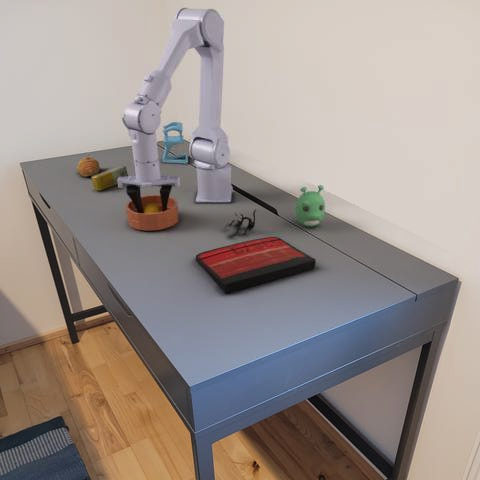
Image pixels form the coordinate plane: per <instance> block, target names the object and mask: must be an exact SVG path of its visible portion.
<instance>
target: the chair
mask: <svg viewBox="0 0 480 480" xmlns="http://www.w3.org/2000/svg"><path fill="white" fill-rule="evenodd" d="M162 128H163V129H162V132H163V135H164V136H163V145H164V146H165V147H164V151H163V155H162V163H166V164H167V163H168V164H169V163H171V164H183V165H184V164H185V165H188V164H189V155H188V153H181V154H175V155H169V154H170V151H171V149H172V147H174V146H177V145H184V144H185V137H184V135H183V123H182V122H180V121H171V122H170V123H168V124H166V125H163V126H162ZM172 131H175V132H178V135H173V136H172V135H169V134H168V132H172ZM182 158H185V159H182Z"/></svg>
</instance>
